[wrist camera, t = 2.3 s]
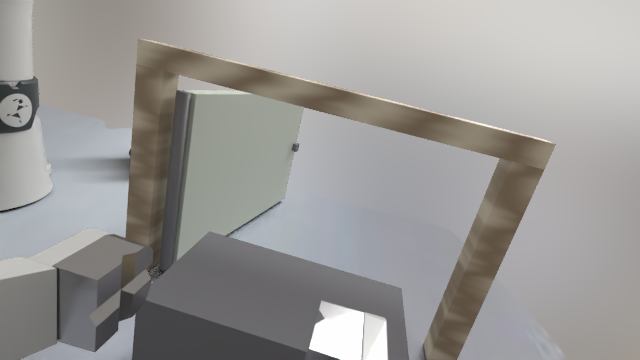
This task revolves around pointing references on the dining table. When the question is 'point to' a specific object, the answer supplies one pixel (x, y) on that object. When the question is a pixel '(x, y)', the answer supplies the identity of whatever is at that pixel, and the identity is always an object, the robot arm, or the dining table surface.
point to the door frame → (511, 147)
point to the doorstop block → (252, 305)
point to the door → (224, 164)
